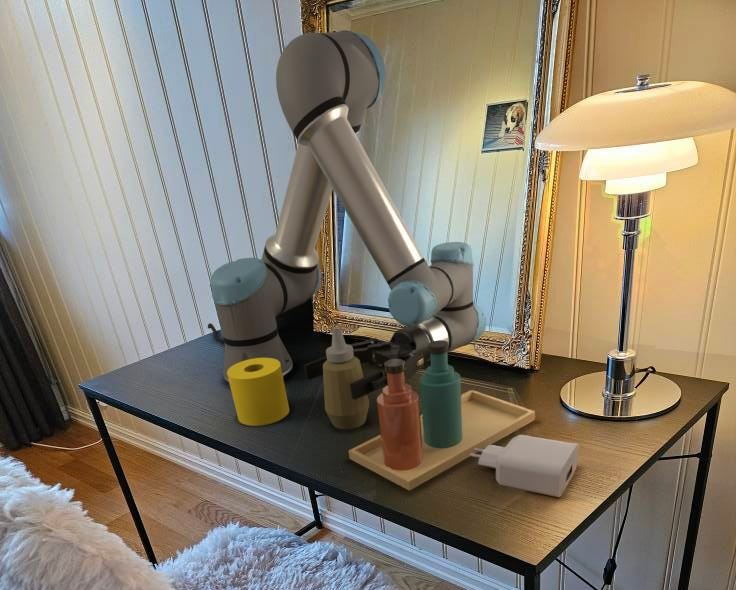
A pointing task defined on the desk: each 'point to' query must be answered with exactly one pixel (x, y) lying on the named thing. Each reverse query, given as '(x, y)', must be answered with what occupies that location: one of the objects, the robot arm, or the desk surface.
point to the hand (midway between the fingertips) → (328, 381)
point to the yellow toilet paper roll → (258, 391)
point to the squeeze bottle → (343, 385)
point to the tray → (479, 429)
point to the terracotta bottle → (399, 420)
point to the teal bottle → (441, 400)
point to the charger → (532, 464)
